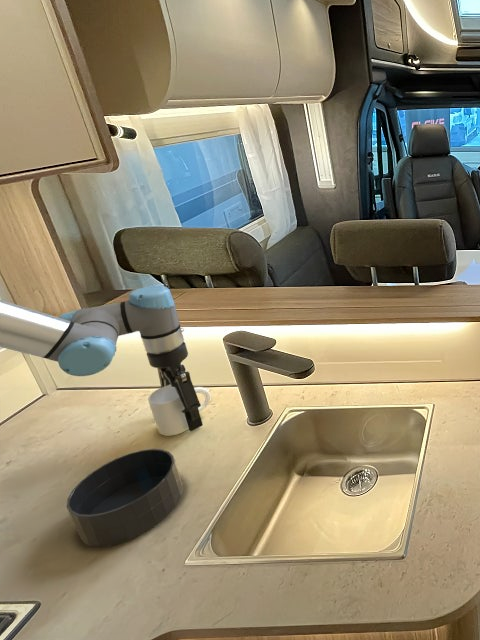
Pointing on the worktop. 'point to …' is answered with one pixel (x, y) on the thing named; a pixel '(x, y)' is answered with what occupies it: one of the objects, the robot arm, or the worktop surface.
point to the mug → (172, 409)
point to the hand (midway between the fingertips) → (187, 419)
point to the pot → (125, 497)
